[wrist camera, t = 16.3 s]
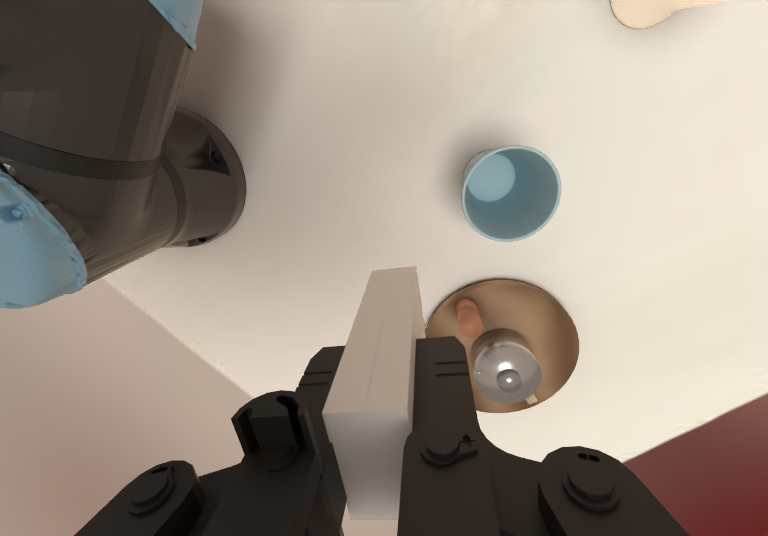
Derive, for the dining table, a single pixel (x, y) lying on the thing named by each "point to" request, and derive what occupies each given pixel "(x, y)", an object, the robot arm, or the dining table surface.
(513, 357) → the cover
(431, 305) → the dining table surface
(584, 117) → the dining table surface
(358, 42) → the dining table surface
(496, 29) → the dining table surface
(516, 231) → the cup
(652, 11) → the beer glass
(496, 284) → the turntable
